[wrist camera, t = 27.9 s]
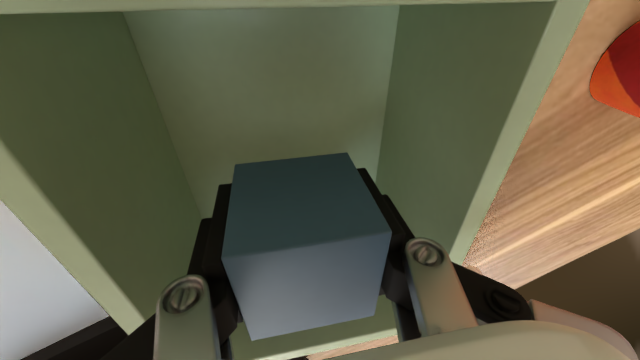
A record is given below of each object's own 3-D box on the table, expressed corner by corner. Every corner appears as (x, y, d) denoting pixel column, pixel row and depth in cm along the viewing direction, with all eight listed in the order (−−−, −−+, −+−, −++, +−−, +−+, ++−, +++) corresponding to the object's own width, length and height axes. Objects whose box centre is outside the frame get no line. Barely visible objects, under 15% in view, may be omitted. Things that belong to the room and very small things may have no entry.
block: (234, 163, 10) (219, 258, 6) (347, 151, 11) (393, 231, 7) (253, 242, 13) (251, 341, 9) (343, 229, 13) (374, 316, 10)
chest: (375, 220, 22) (431, 328, 15) (204, 246, 20) (174, 385, 13) (412, -25, 12) (617, -52, 5) (95, -23, 10) (-255, -65, 3)
